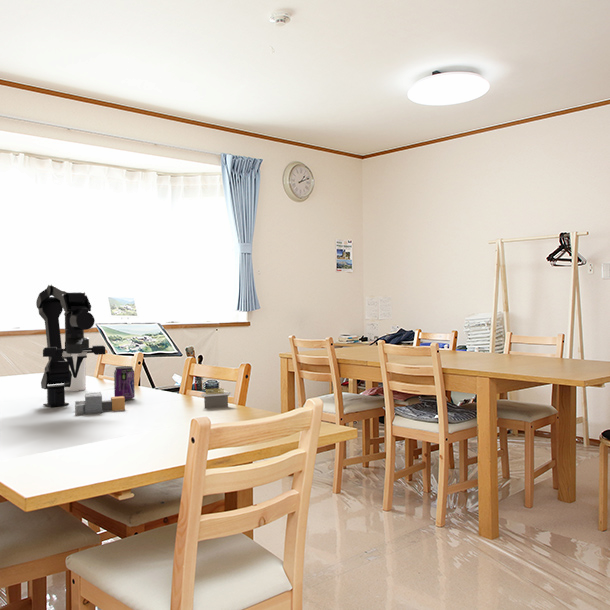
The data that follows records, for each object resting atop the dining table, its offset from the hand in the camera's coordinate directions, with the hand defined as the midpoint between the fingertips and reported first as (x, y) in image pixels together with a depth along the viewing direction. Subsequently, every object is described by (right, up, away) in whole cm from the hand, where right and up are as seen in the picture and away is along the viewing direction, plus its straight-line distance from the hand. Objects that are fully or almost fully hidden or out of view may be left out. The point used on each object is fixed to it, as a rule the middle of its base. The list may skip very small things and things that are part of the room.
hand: (75, 377), depth 188 cm
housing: (+4, -11, +2) cm, 12 cm away
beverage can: (+8, -12, +26) cm, 30 cm away
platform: (+45, -11, +7) cm, 47 cm away
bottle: (-22, -12, +55) cm, 60 cm away
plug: (+8, -11, +3) cm, 14 cm away
